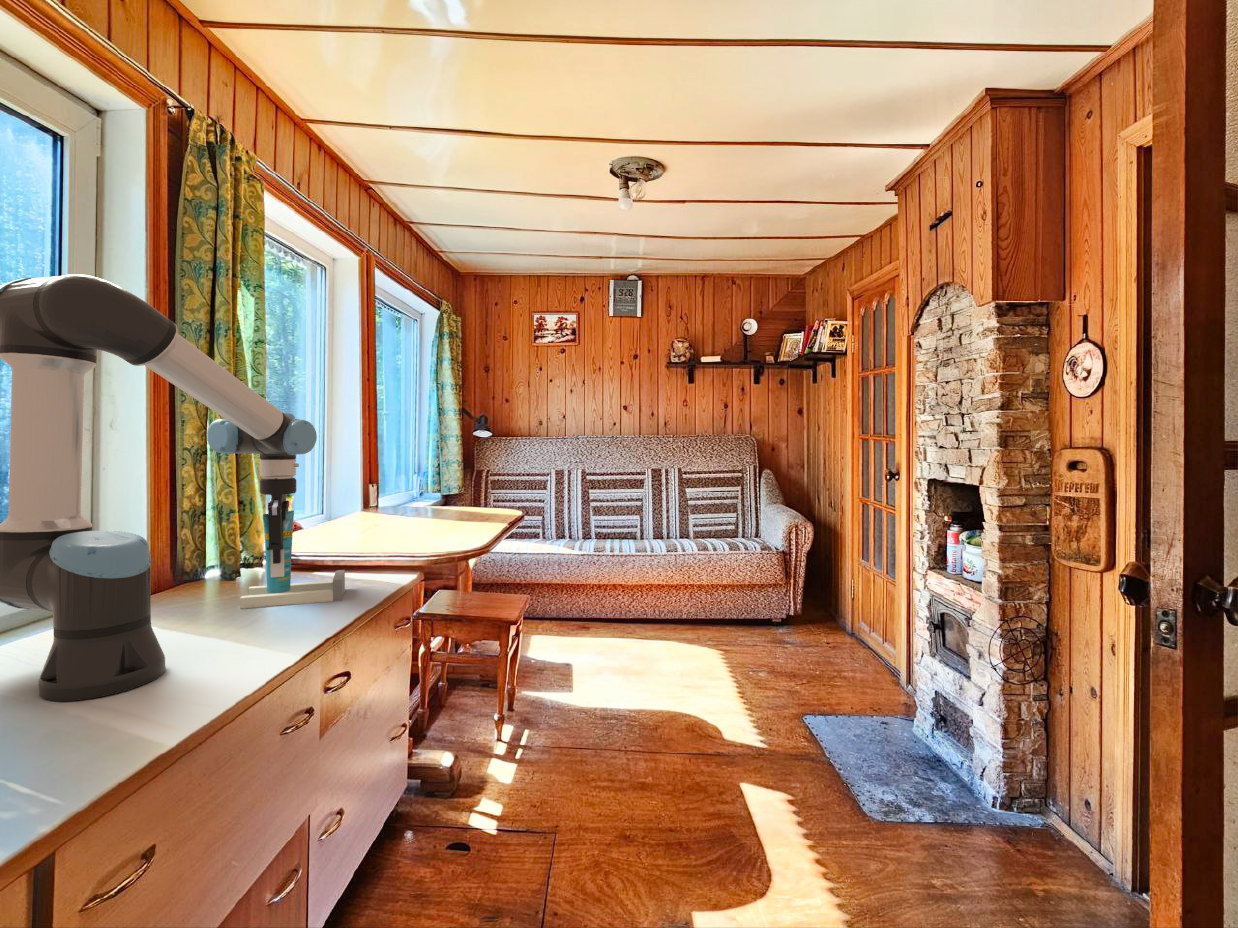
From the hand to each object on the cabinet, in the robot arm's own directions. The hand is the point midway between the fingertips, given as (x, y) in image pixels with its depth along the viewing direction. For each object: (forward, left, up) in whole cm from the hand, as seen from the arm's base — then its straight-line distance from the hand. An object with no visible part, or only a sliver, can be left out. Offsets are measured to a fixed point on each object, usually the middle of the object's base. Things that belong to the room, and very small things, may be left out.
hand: (279, 573), depth 141 cm
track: (0, -3, -6) cm, 7 cm away
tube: (0, 0, -4) cm, 4 cm away
